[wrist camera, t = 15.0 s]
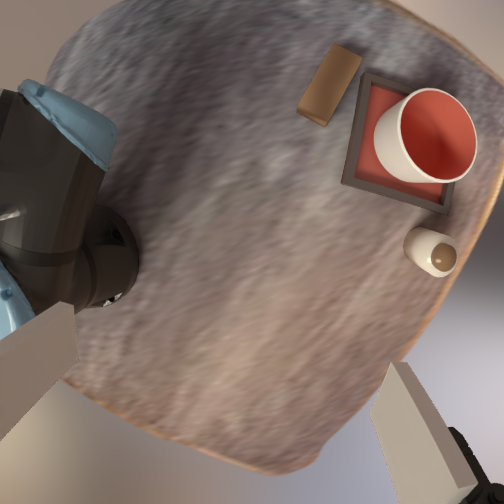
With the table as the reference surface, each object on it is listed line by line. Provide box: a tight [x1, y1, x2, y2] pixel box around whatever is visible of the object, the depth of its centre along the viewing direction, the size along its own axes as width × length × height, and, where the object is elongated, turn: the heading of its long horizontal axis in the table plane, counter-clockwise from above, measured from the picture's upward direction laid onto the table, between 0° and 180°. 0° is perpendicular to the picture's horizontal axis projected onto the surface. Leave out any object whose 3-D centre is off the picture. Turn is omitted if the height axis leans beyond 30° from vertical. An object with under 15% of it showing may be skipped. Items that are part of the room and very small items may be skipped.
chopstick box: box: [297, 43, 363, 127], centre depth 34 cm, size 4×10×4 cm, turn 152°
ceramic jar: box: [403, 227, 459, 277], centre depth 35 cm, size 5×5×8 cm
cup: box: [374, 88, 477, 183], centre depth 30 cm, size 10×10×10 cm
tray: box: [341, 72, 455, 216], centre depth 35 cm, size 15×15×2 cm
